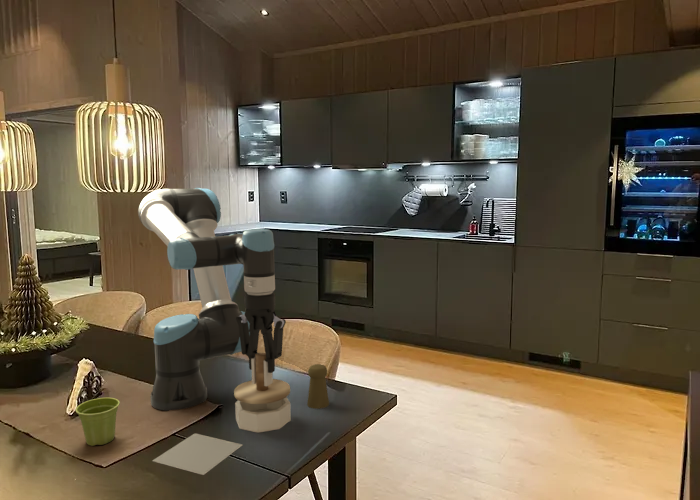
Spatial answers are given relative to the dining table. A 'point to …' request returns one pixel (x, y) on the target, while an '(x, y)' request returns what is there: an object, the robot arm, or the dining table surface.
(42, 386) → the dining table surface
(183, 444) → the mat
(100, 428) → the plant pot
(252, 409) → the bowl
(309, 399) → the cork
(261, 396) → the lid
